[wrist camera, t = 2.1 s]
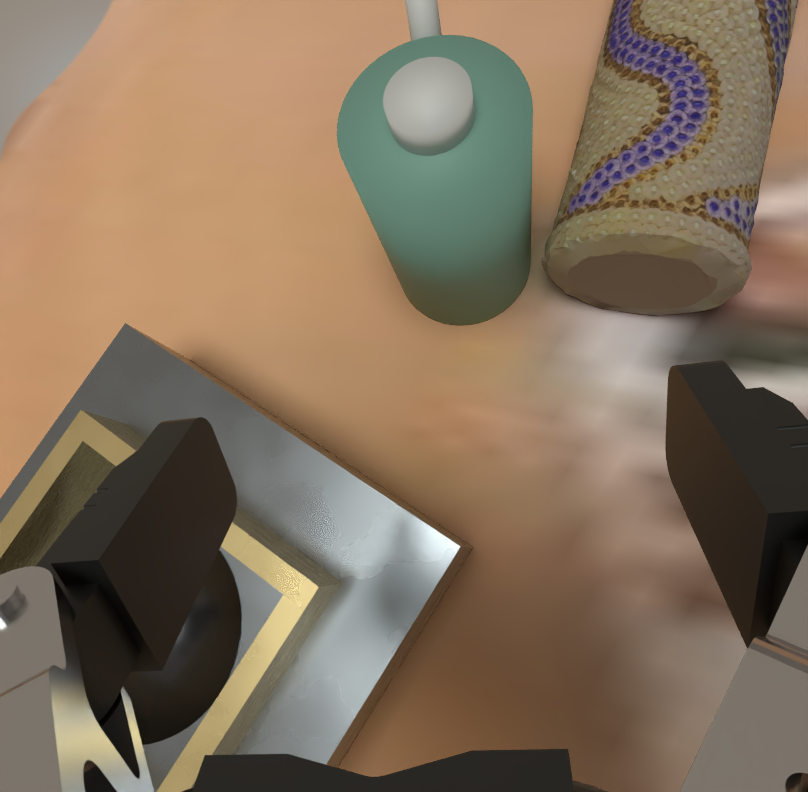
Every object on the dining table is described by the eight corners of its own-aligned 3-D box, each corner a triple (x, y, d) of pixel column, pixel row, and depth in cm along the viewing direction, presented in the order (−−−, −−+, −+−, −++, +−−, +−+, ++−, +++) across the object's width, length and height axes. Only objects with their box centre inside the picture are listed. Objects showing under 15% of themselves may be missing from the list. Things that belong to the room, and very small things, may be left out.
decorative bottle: (718, 338, 26) (779, 268, 19) (536, 301, 28) (538, 226, 21) (823, -152, 30) (901, -340, 24) (662, -155, 32) (694, -329, 26)
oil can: (537, 316, 27) (546, 149, 16) (403, 333, 28) (321, 187, 17) (515, 142, 29) (509, -112, 18) (392, 164, 30) (313, -65, 19)
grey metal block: (189, 359, 30) (83, 299, 23) (472, 547, 25) (451, 546, 18) (-82, 749, 28) (-293, 819, 21) (175, 1032, 23) (18, 1247, 16)
